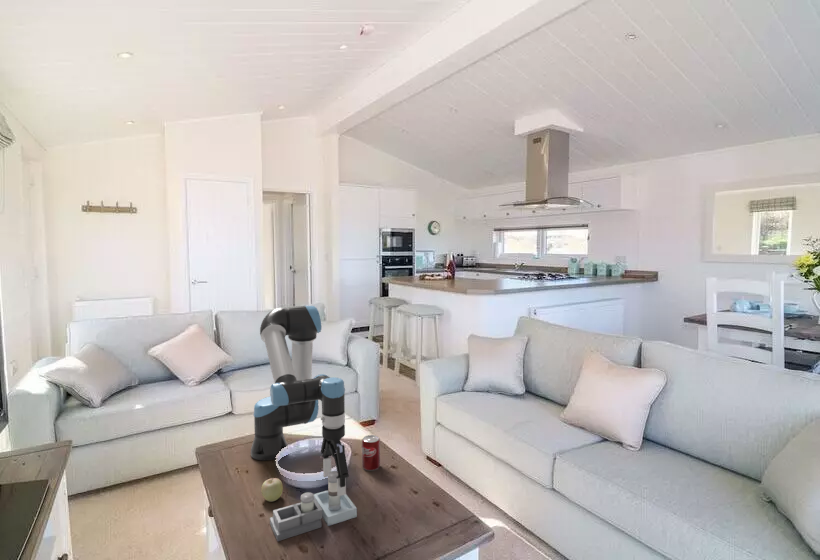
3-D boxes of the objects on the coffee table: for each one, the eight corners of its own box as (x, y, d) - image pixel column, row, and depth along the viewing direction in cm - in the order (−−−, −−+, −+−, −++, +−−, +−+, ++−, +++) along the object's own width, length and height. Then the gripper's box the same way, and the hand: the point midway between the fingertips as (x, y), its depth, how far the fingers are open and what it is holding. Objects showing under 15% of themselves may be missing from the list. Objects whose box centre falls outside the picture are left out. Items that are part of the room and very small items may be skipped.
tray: (313, 502, 159) (313, 494, 159) (340, 494, 164) (340, 486, 163) (328, 526, 146) (327, 517, 146) (356, 516, 151) (356, 508, 151)
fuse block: (269, 523, 147) (269, 497, 146) (313, 510, 154) (313, 485, 153) (277, 541, 138) (276, 514, 138) (323, 526, 146) (323, 500, 145)
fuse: (326, 506, 156) (326, 472, 154) (338, 502, 158) (337, 469, 156) (330, 512, 152) (330, 478, 151) (342, 509, 154) (342, 475, 153)
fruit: (287, 497, 162) (287, 475, 161) (271, 507, 156) (270, 485, 155) (273, 490, 166) (272, 469, 165) (256, 500, 160) (256, 478, 159)
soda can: (373, 473, 178) (372, 444, 177) (358, 468, 182) (358, 439, 181) (383, 465, 185) (383, 437, 184) (369, 460, 188) (369, 433, 187)
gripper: (311, 414, 161) (312, 471, 163) (336, 441, 139) (336, 507, 141) (331, 410, 165) (332, 466, 167) (358, 436, 143) (359, 500, 145)
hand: (334, 485), depth 154 cm, fingers open, 13 cm apart
